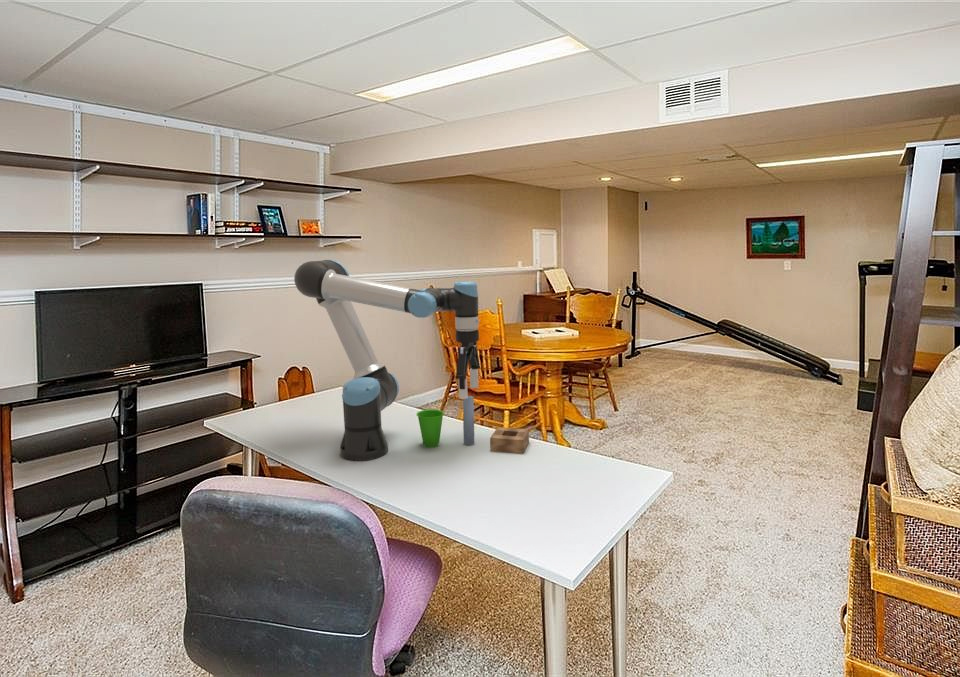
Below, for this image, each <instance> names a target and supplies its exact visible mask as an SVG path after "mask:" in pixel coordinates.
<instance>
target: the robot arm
mask: <svg viewBox="0 0 960 677" xmlns="http://www.w3.org/2000/svg"><path fill="white" fill-rule="evenodd" d="M293 279H294V281H293V282H294V285H295V288H296V289H297V291H299V293H301V295H304V296H305V297H308V298H312V299H313V298H314V299H316V302H317V304H318V306H320V307H322V308H324V309H325V310H326V312H327V315H328V316H329V318H330V321H331V323H332V326H333V327H334V329H335V331H336V335H337V336H338V338H339V340H340V343H341V345H342V347H343V350H344V351H345V354H346V356H347V358H348V360H349V362H350V364H351V367H352V369H353V371H354V375H353V378H352V379H350V380H348V381H347V382H345V384H344V385H343V387H342V394H341V398H342V408H343V410H342V411H343V424H344V426H343V427H344V432H343V435H342V439H341V443H340V447H339V454H340V457H342V458H343V459H344V460H349V461H369V460H374V459H378V458H381V457H384V456H385V455H386V454H387V453H388V451H389V443H388V441H387V439H386V435H385V434H384V430H383V428H382V411H383V410H385V409H386V408H387V407H389V406H391V405H392V404H393V403H394V402H395V400H396V399H397V397H398V395H399V392H400V386H399V381H398V379H397V377H396V376H395V375H394V374H392V373H391V372H389V371H388V369H387V367H386V365H385V364H383V363H381V362H379V360H378V358H377V355H376V354H375V351H374V349H373V347H372V344H371V343H370V341H369V338H368V336H367V334H366V332H365V329H364V326H363V325H362V323H361V321H360V318H359V316H358V314H357V312H356V310H355V308H354V306H353V304H352V303H357V304H361V305H368V306H372V307H377V308H382V309H386V310H387V309H388V310H392V311H393V310H394V311H397V312H401V313H407V314H411V315H412V316H413V317H415V318H422V319H425V318H428V317H430V316H431V315H434V314H435V313H438V312H454V314H455V316H454V318H455V320H454V324H455V325H454V326H455V327H454V328H455V329H456V330H455V340H456V342H457V343H460V344H461V346H460V347H458V348H457V352H458V353H457V363H456V372H455V377H454V378H455V379H456V380H457V383H458V399H459V400H460V399H461V400H463V399H467V398H468V396H469V395H468V394H469V393H468V378H467V374H468V368H469V367H470V369H469V387H470V389H479V369H481V365H480V357H479V354H478V345H477V342H478V341H479V340H480V331H479V323H480V322H481V319H479V295H478V294H479V293H478V284H477V283H476V282H475V281H470V280H469V281H455V282H454V284H453V287H450V288H447V287H445V288H442V287H433V288H432V287H427V288H426V287H425V288H421V289H415V288H410V287H404V286H401V285H396V284H395V285H394V284H390V283H385V282H380V281H374V280H369V279H365V278H361V277H360V278H359V277H354V276H350V274H349V271H348V270H347V268H346V266H344V265H343V264H342V263H341V262H338V261H336V260H333V259H323V260H310V261H306V262H303V263H302V264H301V265H300V266H298V268H297V269H296V270H295V273H294V278H293Z"/></svg>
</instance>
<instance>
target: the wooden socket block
mask: <svg viewBox="0 0 960 677" xmlns="http://www.w3.org/2000/svg"><path fill="white" fill-rule="evenodd" d="M489 442H490V444H489V445H490V446H489V449H490V450H489V451H490V452H494V453H495V452H497V453H507V454H510V453H511V454H522V455H523V454H524V453H525V451H526V450H527V447H528V445H529V443H530V429H527V428H517V427H516V428H515V427H502V426H498V427H496V429H495V430H494V432H493V433H492V434H491V436H490V437H489Z"/></svg>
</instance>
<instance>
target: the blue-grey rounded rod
mask: <svg viewBox="0 0 960 677" xmlns="http://www.w3.org/2000/svg"><path fill="white" fill-rule="evenodd" d="M474 402H475V398H474V396H473V395H468V398H467V399H462V418H463V419H462V420H463V422H462V423H463V425H462V426H463V427H462V428H463V430H462V431H463V445H464V446H473V445H474V444H475V403H474Z"/></svg>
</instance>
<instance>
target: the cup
mask: <svg viewBox="0 0 960 677" xmlns="http://www.w3.org/2000/svg"><path fill="white" fill-rule="evenodd" d="M444 415H445V413H444V411H443V410H440V409H435V408H434V409H423V410H420V411H418V412H417V413H416V416H417V418H418V423H419V429H420V433H421V439H422V443H423V446H424V447H425V448H436V447H438V446H439V445H438V444H440V441H441V440H440V439H441V434H442V433H441V432H442V425H443V417H444Z"/></svg>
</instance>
